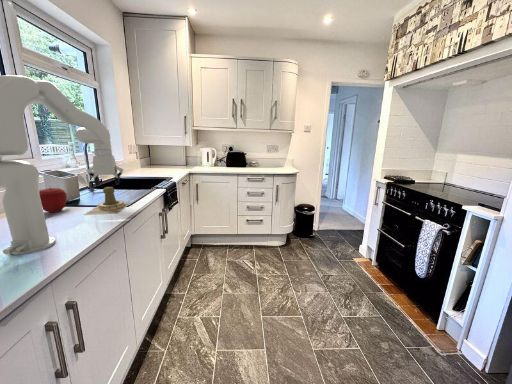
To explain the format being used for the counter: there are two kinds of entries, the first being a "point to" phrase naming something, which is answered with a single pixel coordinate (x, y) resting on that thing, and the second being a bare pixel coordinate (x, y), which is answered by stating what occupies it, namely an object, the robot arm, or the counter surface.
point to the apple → (53, 199)
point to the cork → (109, 196)
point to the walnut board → (113, 211)
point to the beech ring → (110, 207)
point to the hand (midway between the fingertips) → (107, 184)
